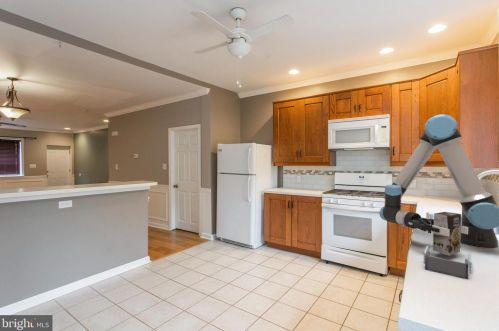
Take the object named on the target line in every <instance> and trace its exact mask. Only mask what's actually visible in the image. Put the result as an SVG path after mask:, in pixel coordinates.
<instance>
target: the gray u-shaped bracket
mask: <svg viewBox="0 0 499 331" xmlns="http://www.w3.org/2000/svg"><path fill="white" fill-rule="evenodd" d="M471 253H472V252H471V251H468V258H464V262H462V261H455V260H451V259H450V260H449V259H445V258H440V257H436V256H431V255H430V244H429V243H428V244H427V245H426V247H425V250H424V252H423V264H424V270H427V271H430V272H435V273H439V274H442V275H447V276H448V275H449V276H451V277H457V278H460V279H463V280H464V279H466V280H469V274H471V275H472V254H471Z"/></svg>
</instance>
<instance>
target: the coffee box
mask: <svg viewBox="0 0 499 331" xmlns="http://www.w3.org/2000/svg"><path fill="white" fill-rule="evenodd" d="M433 219H434V226H438V227H442V228H446V229H450V232H449V236H445V235H442V234H438V233H434V232H432V233H433V234H432V236H433V237H432V238H433V239H432V251H433V252H436V253H439V254H443V255H446V256H452V255H456V254H458V253H461V242H460V240H461V225H462V213H456V212H447V211H441V212H435V213H433Z"/></svg>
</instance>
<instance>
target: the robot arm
mask: <svg viewBox="0 0 499 331" xmlns="http://www.w3.org/2000/svg"><path fill="white" fill-rule="evenodd" d="M462 138H463V137H462V134H461V132H460V130H459V128H458V122H457V120H456V119H455V118H454V117H453V116H451V115H448V114H444V113H441V114H437V115H434V116H432V117H430V118H428V120H427V121H426V123H425V125H424V130H423V133H422V134H421V136H420V138H419V143H418V145H417V147H416V148H415V150H414V151H413V152H412V154H411V155H410V157H409V159H408V160H407V161H406V163H405V164H404V166H403V167H402V169H401V170H400V172H399V173H398V175H397V176H396V178H395V179H394V181H393V182H392V183H391V184H386V185H385V186H384V206H382V207H381V208H380V209H379V210H380V211H379V217H380V218H381V219H382V221H383V220H384V221H385V222H389V223H393V224H397V225H400V226H402V227H403V228H404V227H407V228H409V229H413V230H417V229H418V230H420V231H422V232H427V234H432V233H433V232H434V233H438V234H442V235H445V236H449V232H450V229H446V228H442V227H438V226H434V218H426V217H422V216H421V215H420V214H419V213H417V212H413V211H409V210H403V209H402V197H403V196H404V195H405V193H406V191H407V190H408V189H409V187H410V185H411V184H412V183H413V181H414V180H415V179H416V177H417V176H418V174H419V173H420V171H421V170H422V169H423V167H424V166H425V165H426V163H427V162H428V160H429V159H430V158H431V156H432V154H433V153H434V152H435V150H438V152H439V153H440V155H441V157H442V160H443V162H444V164H445V166H446V168H447V170H448V172H449V173H450V176H451V179H452V181H453V182H454V184H455V186H456V188H457V190H458V192H459V194H460V197H461V198H460V199H459V203H460V205H461V240H460V243H464V244H467V245H469V246H470V245H471V246H476V247H481V248H497V247H499V241H498V238H497V234H496V232H495V230H494V229H496V228H498V227H499V205H498V204H497V201H496V200H495V198H494V196H493V194H492V193H490V192H488V191H486V190H485V189H484V186H483V185H482V182H481V180H480V178H479V176H478V175H477V172H476V170H475V168H474V167H473V165H472V163H471V161H470V158H469V157H468V155H467V153H466V151H465V149H464V148H463V144H462V143H461V140H462Z"/></svg>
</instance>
